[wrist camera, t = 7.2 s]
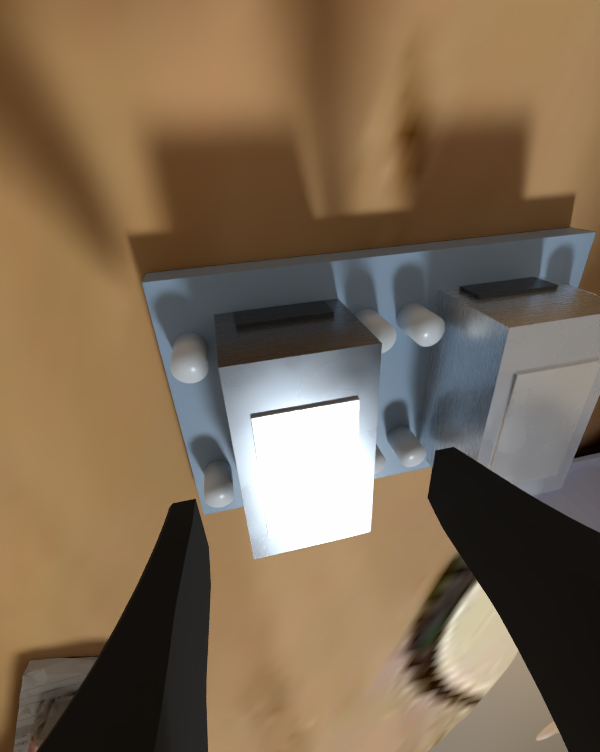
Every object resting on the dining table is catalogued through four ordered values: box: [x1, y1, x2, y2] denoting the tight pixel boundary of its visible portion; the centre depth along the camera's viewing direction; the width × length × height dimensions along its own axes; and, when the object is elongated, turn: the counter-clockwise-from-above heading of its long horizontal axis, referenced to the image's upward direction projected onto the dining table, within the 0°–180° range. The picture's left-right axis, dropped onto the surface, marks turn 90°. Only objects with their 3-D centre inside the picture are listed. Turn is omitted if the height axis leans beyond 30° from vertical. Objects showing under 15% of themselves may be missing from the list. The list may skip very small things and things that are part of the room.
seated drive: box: [418, 276, 600, 496], centre depth 15 cm, size 4×8×4 cm, turn 3°
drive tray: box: [142, 228, 598, 515], centre depth 16 cm, size 17×11×3 cm, turn 93°
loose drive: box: [214, 299, 382, 559], centre depth 14 cm, size 4×8×4 cm, turn 3°
